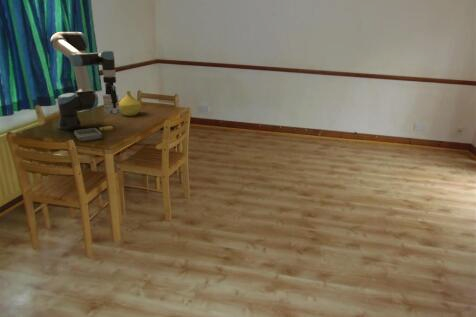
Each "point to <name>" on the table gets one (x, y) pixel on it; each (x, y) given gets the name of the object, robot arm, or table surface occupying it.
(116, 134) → the table surface
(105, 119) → the table surface
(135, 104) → the yellow rounded bulb
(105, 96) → the ink box
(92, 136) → the tray
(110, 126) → the puller tool
